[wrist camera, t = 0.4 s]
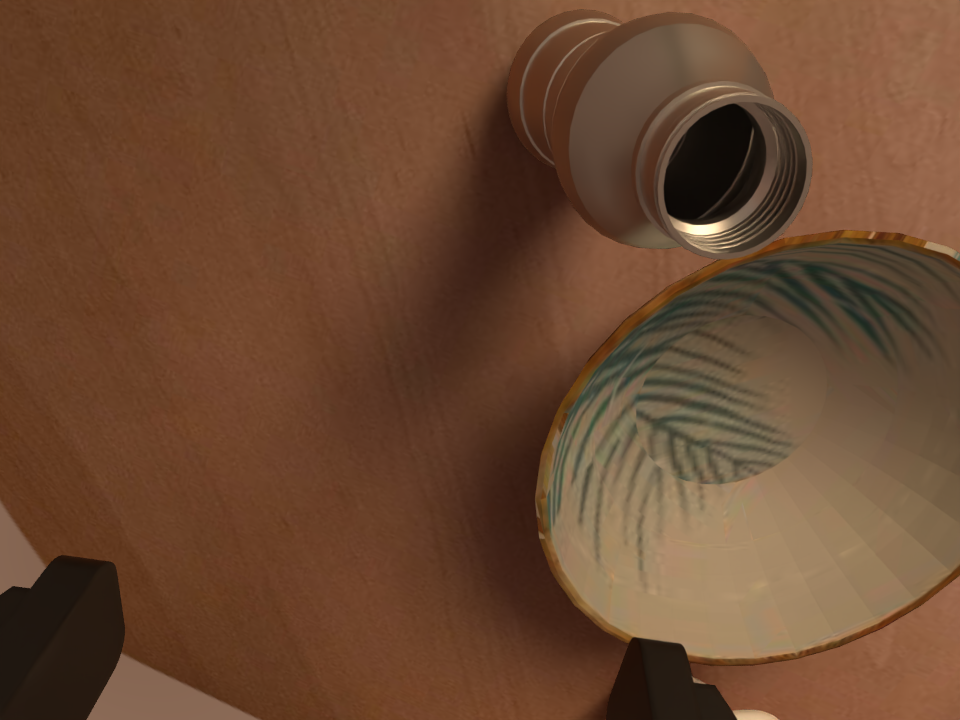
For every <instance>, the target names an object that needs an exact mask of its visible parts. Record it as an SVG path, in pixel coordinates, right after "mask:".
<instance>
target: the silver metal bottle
mask: <svg viewBox="0 0 960 720" xmlns="http://www.w3.org/2000/svg"><path fill="white" fill-rule="evenodd" d="M507 105H508V112H509V117H510V120H511V123H512V126H513V129H514V131H515V132H516V134H517V136H518V138H519V140H520V141H521V143H522V144H523V145H524V146H525V148H526V149H527V150H528V151H529V152H530V153H531V154H532V155H533V156H534V157H536V158H537V159H538V160H539V161H541V162H542V163H545V164H547V165H549V166H551V167H553V168H555V169H556V171H557V174H558V177H559V180H560V183H561V185H562V187H563V189H564V191H565V193H566V195H567V196H568V198H569V200H570V202H571V204H572V206H573V207H574V209H575V210H576V211H577V212H578V213H579V214H580V216H581V217H582V218H583V219H584V220H585V222H586V223H587V224H589V225H590V226H591V227H593V228H594V229H595V230H597V231H598V232H599V233H600V234H602V235H604V236H606V237H608V238H610V239H612V240H614V241H616V242H618V243H621V244H625V245H629V246H634V247H638V248H657V249H669V248H675V247H681V246H682V247H683V248H685V249H687V250H689V251H691V252H693V253H695V254H697V255H700V256H704V257H708V258H712V259H733V258H739V257H743V256H746V255H749V254H752V253H754V252H757V251H759V250H760V249H762V248H764V247H765V246H767V245H769V244H771V243H772V242H773V241H774V240H775V239H777V238H778V237H779V236H780V235H781V234H783V232H784V231H785V230H786V229H787V228H788V227H789V225H790V224H791V223H792V222H793V221H794V219H795V218H796V216H797V214H798V213H799V211H800V209H801V208H802V206H803V203H804V201H805V198H806V196H807V194H808V191H809V186H810V182H811V177H812V154H811V147H810V143H809V140H808V137H807V135H806V132H805V130H804V128H803V127H802V125H801V124H800V122H799V120H798V119H797V118H796V117H795V116H794V115H793V114H792V113H791V112H790V111H789V110H788V109H787V108H786V107H785V106H784V105H783V104H781V103H779V102H777V101H776V100H774V97H773V92H772V90H771V87H770V84H769V82H768V79H767V76H766V74H765V72H764V71H763V69H762V67H761V66H760V64H759V63H758V61H757V60H756V58H755V57H754V55H753V54H752V52H751V51H750V49H749V48H748V46H747V45H746V44H744V43H743V42H742V41H741V40H740V39H739V38H738V37H737V36H736V35H735V34H734V33H733V32H732V31H731V30H729V29H727V28H726V27H724V26H722V25H721V24H719V23H717V22H715V21H714V20H711V19H708V18H705V17H702V16H698V15H695V14H692V13H676V12H666V13H661V14H655V15H649V16H645V17H641V18H637V19H634V20H632V21H629V22H627V23H623V22H622V21H620V20H618V19H616V18H615V17H613V16H611V15H609V14H606V13H603V12H599V11H596V10H584V9H579V10H573V11H567V12H563V13H561V14H559V15H556V16H554V17H551V18H550V19H548V20H547V21H545V22H544V23H542V24H541V25H539V26H538V27H537V28H536V29H535V30H534V31H533V32H532V33H531V34H530V35H529V36H528V37H527V38H526V39H525V41H524V42H523V44H522V45H521V47H520V49H519V50H518V52H517V54H516V56H515V59H514V61H513V63H512V66H511V69H510V73H509V78H508V82H507Z"/></svg>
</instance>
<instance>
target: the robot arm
mask: <svg viewBox="0 0 960 720" xmlns="http://www.w3.org/2000/svg"><path fill="white" fill-rule="evenodd" d="M124 636H125V625H124V618H123V611H122V604H121V597H120V590H119V583H118V576H117V570H116V567H115V565H114V563H112V562H109V561H102V560H94V559H87V558H80V557H73V556H66V555H61V556H58V557H57V558H55V559H54V560H53V561H52V562H51V563H50V564H49V565H48V566H47V568H46V569H45V570H44V572H43V573H42V574H41V576H40V577H39V578H38V579H37V581H36V582H35V583H34V585H33V586H32V587H31V589H30V588H22V587H15V586H13V587H11V588H10V589H8V590H7V591H5V592H4V593H2V594H1V595H0V720H86V719H87V718H88V716H89V714H90V712H91V710H92V709H93V707H94V705H95V703H96V702H97V700H98V698H99V696H100V695H101V693H102V691H103V689H104V687H105V686H106V684H107V682H108V680H109V678H110V677H111V675H112V673H113V671H114V669H115V667H116V665H117V663H118V660H119V658H120V654H121V651H122V647H123V643H124ZM606 720H737V718H736V716H735V715H734V713H733V712H732V710H731V709H730V707H729V706H728V704H727V703H726V701H725V700H724V698H723V697H722V695H721V694H720V692H719V691H718V689H717V688H716V686H715V685H708V684H701V683H694V682H693V678H692V673H691V669H690V665H689V661H688V656H687V653H686V650H685V648H684V646H683V645H682V644H680V643H674V642H667V641H660V640H653V639H646V638H638V637H633V638H632V639H631V641H630V642H629V645H628V648H627V650H626V653H625V656H624V659H623V661H622V664H621V667H620V669H619V672H618V675H617V678H616V680H615V683H614V686H613V689H612V691H611V694H610V697H609V701H608V707H607V715H606Z"/></svg>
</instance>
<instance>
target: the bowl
mask: <svg viewBox="0 0 960 720" xmlns="http://www.w3.org/2000/svg"><path fill="white" fill-rule="evenodd" d="M535 503H536V512H537V522H538V532H539V539H540V542H541V545H542V547H543V550H544V553H545V555H546V558H547V561H548V564H549V566H550V569H551V572H552V574H553V576H554V577H555V579H556V580H557V581H558V583H559V584H560V586H561V587H562V589H563V590H564V592H565V593H566V594H567V596H568V597H569V599H570V600H571V602H572V603H573V605H575V606H576V607H577V608H578V609H579V610H580V611H581V612H582V613H584V614H585V615H586V616H587V617H588V618H589V619H590V620H591V621H593V622H594V623H595V624H596V625H597V626H598V627H599V628H600V629H602V630H604V631H605V632H607V633H609V634H611V635H612V636H614V637H616V638H618V639H620V640H621V641H623V642H625V643H627V644H629V642H630V641H631V639H632V638H633V637H638V638H646V639H653V640H660V641H667V642H674V643H680V644H682V645H683V646H684V648H685V650H686V653H687V656H688V661H689V663H696V664H703V665H710V666H745V665H760V664H767V663H773V662H780V661H787V660H793V659H798V658H802V657H805V656H809V655H812V654H816V653H819V652H823V651H826V650H830V649H833V648H837V647H840V646H842V645H845V644H847V643H849V642H852V641H854V640H856V639H859V638H861V637H863V636H866V635H868V634H870V633H873V632H875V631H877V630H880V629H882V628H884V627H885V626H887V625H889V624H890V623H892V622H894V621H896V620H897V619H899V618H901V617H902V616H904V615H906V614H907V613H909V612H911V611H913V610H914V609H916V608H918V607H919V606H921V605H922V604H924V603H925V602H926V601H928V600H929V599H930V598H931V597H933V596H934V595H935V594H937V593H938V592H939V591H940V590H942V589H943V588H944V587H946V586H947V585H948V584H949V583H951V582H952V581H953V580H955V579H956V578H957V577H958V576H959V575H960V253H958V252H957V251H955V250H953V249H951V248H950V247H946V246H943V245H939V244H936V243H932V242H928V241H925V240H921V239H918V238H914V237H911V236H907V235H904V234H900V233H886V232H869V231H852V230H840V231H833V232H826V233H818V234H811V235H804V236H797V237H790V238H784V239H780V240H777V241H774V242H772V243H771V244H769V245H767V246H765V247H764V248H762V249H760V250H759V251H757V252H754V253H752V254H749V255H746V256H743V257H739V258H733V259H719V260H717V261H715V262H713V263H711V264H709V265H707V266H705V267H703V268H702V269H700V270H698V271H696V272H694V273H692V274H690V275H688V276H687V277H685V278H683V279H681V280H679V281H677V282H675V283H673V284H672V285H670V286H668V287H667V288H665V289H664V290H663V291H661V292H660V293H659V294H658V295H656V296H655V297H654V298H652V299H651V300H650V301H648V302H647V303H646V304H645V305H643V306H642V307H641V308H639V309H638V310H637V311H636V312H634V313H633V314H632V315H630V316H629V317H628V318H626V319H625V320H624V321H623V322H622V324H621V325H620V326H619V327H618V328H617V329H616V330H615V331H614V332H613V333H612V334H611V336H610V337H609V338H608V339H607V340H606V341H605V342H604V343H603V344H602V345H601V347H600V348H599V349H598V350H597V351H596V352H595V353H594V354H593V355H592V356H591V357H590V359H589V360H588V362H587V363H586V365H585V367H584V368H583V370H582V371H581V373H580V375H579V376H578V378H577V379H576V381H575V383H574V384H573V386H572V388H571V389H570V391H569V392H568V394H567V396H566V397H565V399H564V400H563V402H562V404H561V405H560V407H559V408H558V410H557V413H556V416H555V418H554V421H553V424H552V426H551V429H550V432H549V434H548V437H547V440H546V443H545V445H544V448H543V451H542V453H541V458H540V465H539V473H538V480H537V487H536V495H535Z"/></svg>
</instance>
